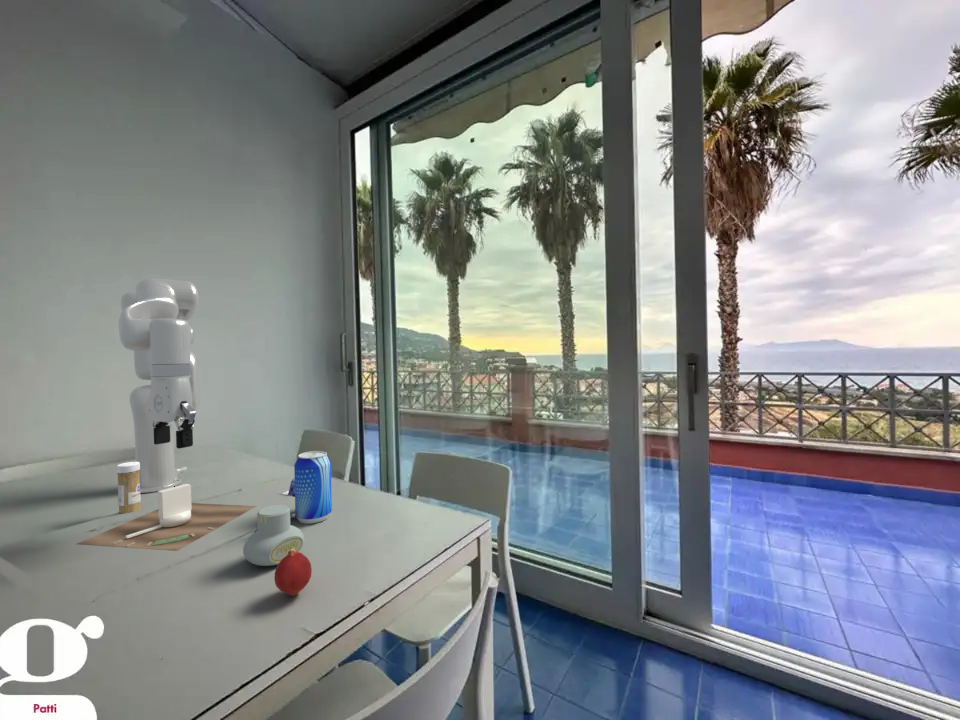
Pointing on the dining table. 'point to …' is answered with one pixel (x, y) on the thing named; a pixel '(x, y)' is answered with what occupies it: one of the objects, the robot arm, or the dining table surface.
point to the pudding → (291, 489)
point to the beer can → (313, 487)
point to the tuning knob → (172, 508)
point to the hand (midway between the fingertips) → (173, 445)
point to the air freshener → (272, 537)
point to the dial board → (169, 528)
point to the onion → (293, 573)
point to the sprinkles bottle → (128, 487)
